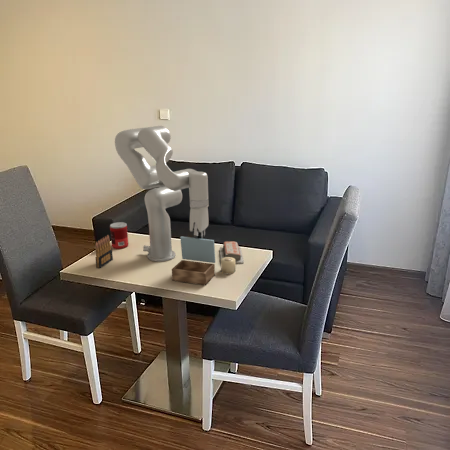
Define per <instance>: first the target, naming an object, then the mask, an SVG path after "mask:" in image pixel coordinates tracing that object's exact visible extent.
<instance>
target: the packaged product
mask: <svg viewBox="0 0 450 450" xmlns="http://www.w3.org/2000/svg"><path fill="white" fill-rule="evenodd" d="M219 254H220V255H219V256H220V257H219V258H220V260H221V259H222V258H224V257H232V258H235V265H236V264H237V265H238V264H239V265H240V264H241V265H242V264H244V262H245V261H244V256H243V253H242V247H239V244H238V242H237V241H224V242H223V246H220V247H219Z"/></svg>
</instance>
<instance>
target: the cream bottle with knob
mask: <svg viewBox="0 0 450 450" xmlns="http://www.w3.org/2000/svg"><path fill="white" fill-rule="evenodd" d="M220 272H221V274H227V275H229V274H235V272H236V264H235V258H232V257H224V258H222V259H220Z"/></svg>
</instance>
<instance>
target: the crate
mask: <svg viewBox="0 0 450 450" xmlns="http://www.w3.org/2000/svg"><path fill="white" fill-rule="evenodd" d="M215 265H216V264H215V263H210V262H202V261H194V260H186V259H182V260H180V261H179V262H178V263H177V264H176V265H174V267H172V268H171V278H172V280H171V281H173V282H179V283H185V284H187V283H188V284H193V285H194V284H195V285H201V286H207V285H208V284H209V282H210V281H211V280H212V279H213V278H214V277H215V273H216V271H215V267H216V266H215Z"/></svg>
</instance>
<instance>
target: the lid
mask: <svg viewBox="0 0 450 450" xmlns="http://www.w3.org/2000/svg"><path fill="white" fill-rule="evenodd" d="M179 239H180V248H181V259H182V260H186V261H194V262H202V263H210V264H215V263H216V250H215V239H207V238H205V239H200V238H196V237H189V236H180V237H179Z"/></svg>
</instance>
